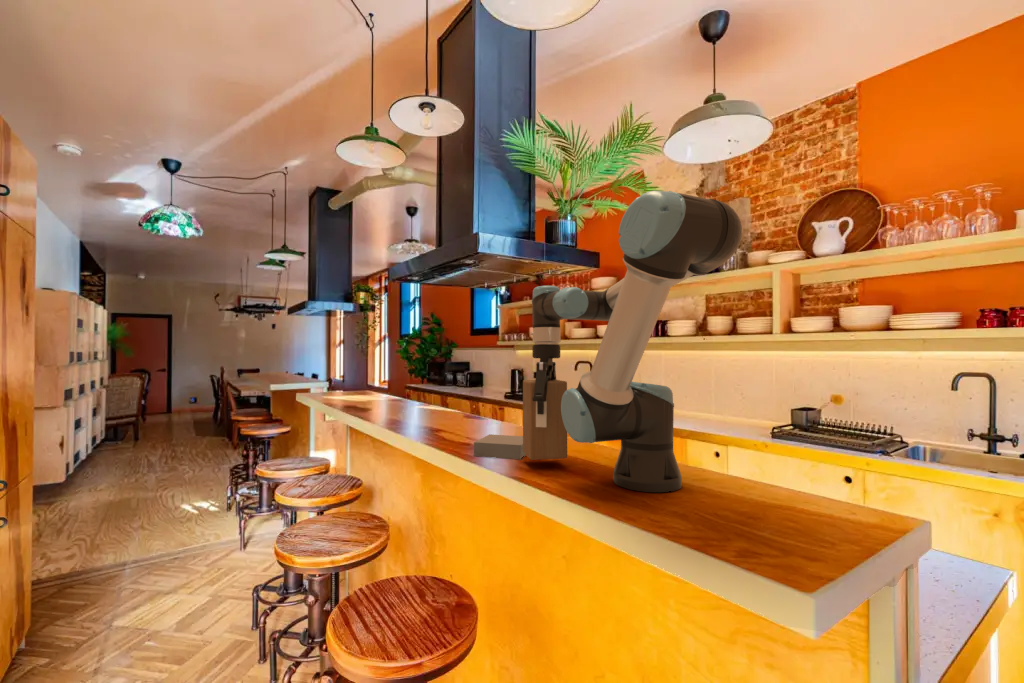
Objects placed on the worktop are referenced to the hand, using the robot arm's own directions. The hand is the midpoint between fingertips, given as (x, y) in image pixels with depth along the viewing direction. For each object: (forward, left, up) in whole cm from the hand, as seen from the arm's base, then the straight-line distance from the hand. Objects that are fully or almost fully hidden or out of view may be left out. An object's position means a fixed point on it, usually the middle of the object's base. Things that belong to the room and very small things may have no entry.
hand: (546, 423), depth 125 cm
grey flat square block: (+11, +15, -11) cm, 22 cm away
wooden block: (0, 0, -9) cm, 9 cm away
